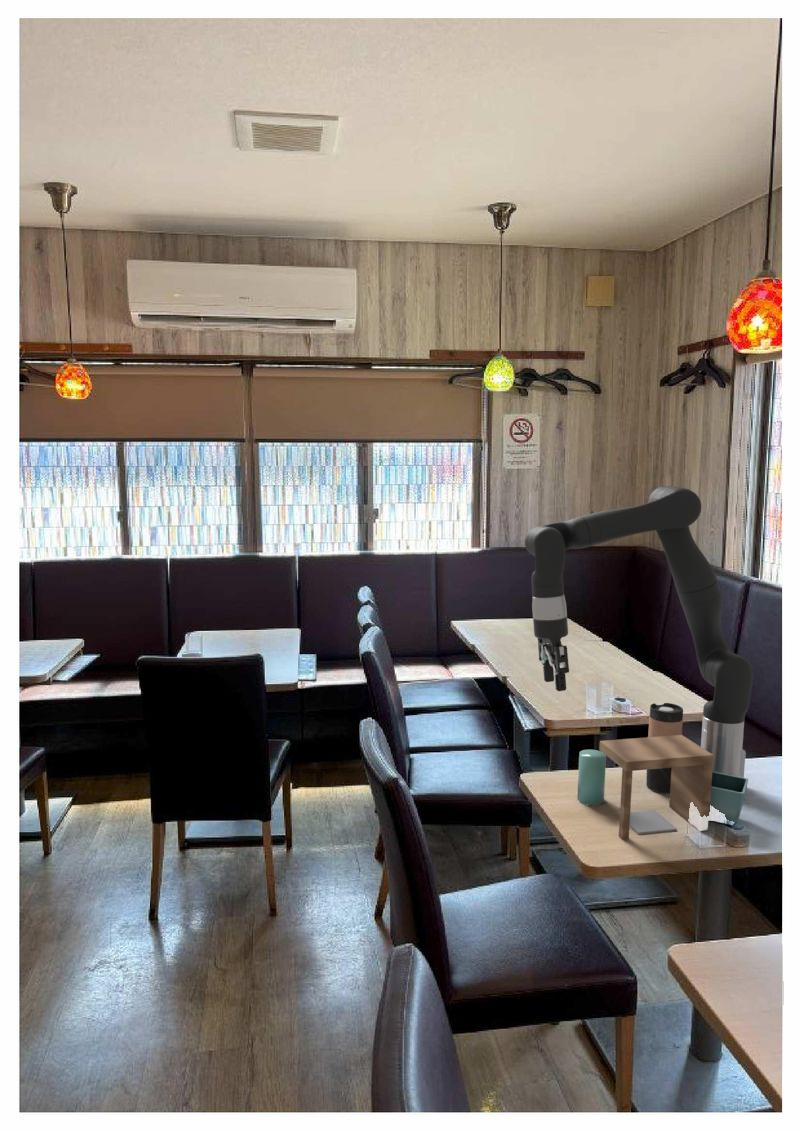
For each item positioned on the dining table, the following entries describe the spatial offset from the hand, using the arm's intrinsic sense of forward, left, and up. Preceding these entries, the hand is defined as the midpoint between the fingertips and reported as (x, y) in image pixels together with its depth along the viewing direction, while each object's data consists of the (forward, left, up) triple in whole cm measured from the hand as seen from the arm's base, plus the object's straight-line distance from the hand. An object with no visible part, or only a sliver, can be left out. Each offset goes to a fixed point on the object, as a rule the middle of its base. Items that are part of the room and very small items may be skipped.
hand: (555, 685), depth 178 cm
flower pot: (-33, +16, -28) cm, 46 cm away
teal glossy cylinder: (-9, +1, -28) cm, 29 cm away
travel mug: (-29, -2, -28) cm, 40 cm away
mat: (-16, +14, -27) cm, 35 cm away
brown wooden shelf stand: (-17, +14, -27) cm, 35 cm away
